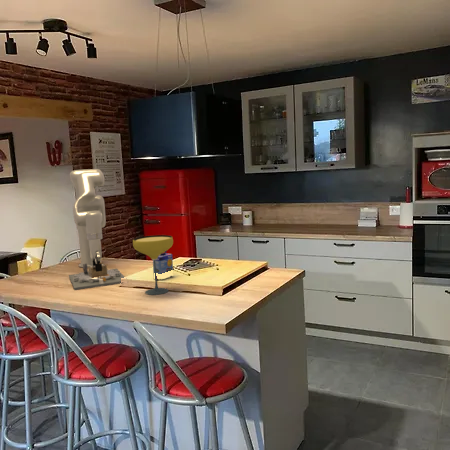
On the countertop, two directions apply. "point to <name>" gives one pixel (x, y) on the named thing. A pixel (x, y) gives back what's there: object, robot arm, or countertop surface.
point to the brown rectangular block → (100, 273)
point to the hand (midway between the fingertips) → (97, 269)
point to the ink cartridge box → (163, 263)
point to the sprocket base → (95, 282)
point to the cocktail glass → (153, 253)
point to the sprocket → (86, 278)
